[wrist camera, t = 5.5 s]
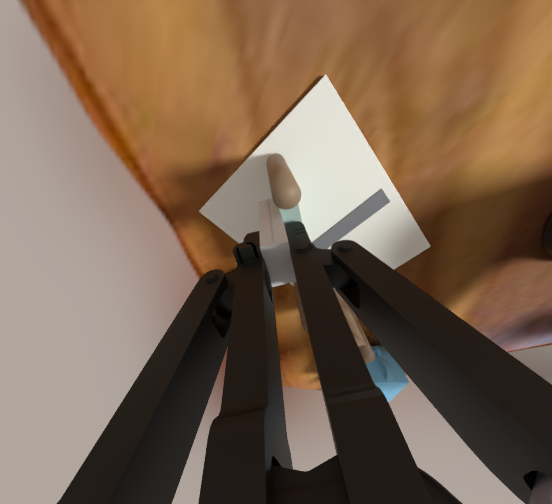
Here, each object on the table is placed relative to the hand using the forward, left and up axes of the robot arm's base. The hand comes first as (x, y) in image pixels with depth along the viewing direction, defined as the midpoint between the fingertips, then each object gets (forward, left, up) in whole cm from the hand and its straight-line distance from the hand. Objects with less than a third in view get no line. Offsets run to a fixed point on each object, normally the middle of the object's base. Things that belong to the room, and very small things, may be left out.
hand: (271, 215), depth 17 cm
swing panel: (-2, 0, -4) cm, 4 cm away
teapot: (-32, +9, -5) cm, 33 cm away
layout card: (-7, -2, -5) cm, 8 cm away
